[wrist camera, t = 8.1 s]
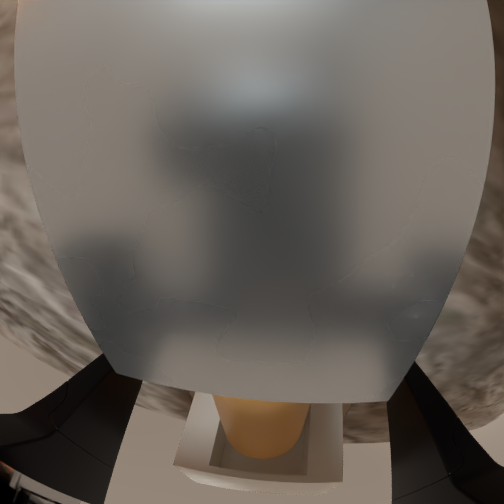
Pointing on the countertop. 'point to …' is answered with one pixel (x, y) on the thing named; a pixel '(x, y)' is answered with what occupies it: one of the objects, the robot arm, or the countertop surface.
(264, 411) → the orange tube
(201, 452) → the white socket
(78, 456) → the robot arm
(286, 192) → the steel sleeve
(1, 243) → the countertop surface
